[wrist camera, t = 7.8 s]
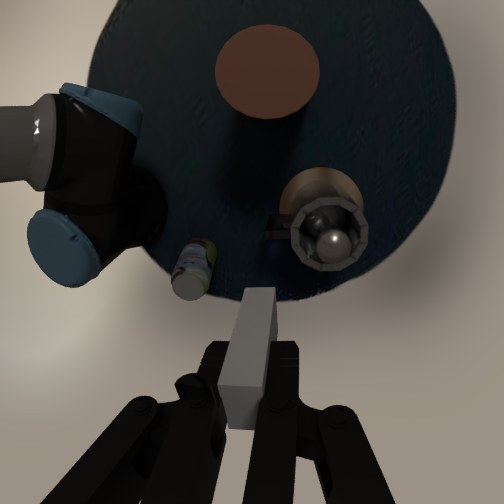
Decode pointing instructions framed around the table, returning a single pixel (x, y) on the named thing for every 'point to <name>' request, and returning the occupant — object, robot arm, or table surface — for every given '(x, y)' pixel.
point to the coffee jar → (267, 72)
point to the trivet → (317, 174)
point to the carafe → (306, 242)
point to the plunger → (329, 232)
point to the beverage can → (194, 269)
